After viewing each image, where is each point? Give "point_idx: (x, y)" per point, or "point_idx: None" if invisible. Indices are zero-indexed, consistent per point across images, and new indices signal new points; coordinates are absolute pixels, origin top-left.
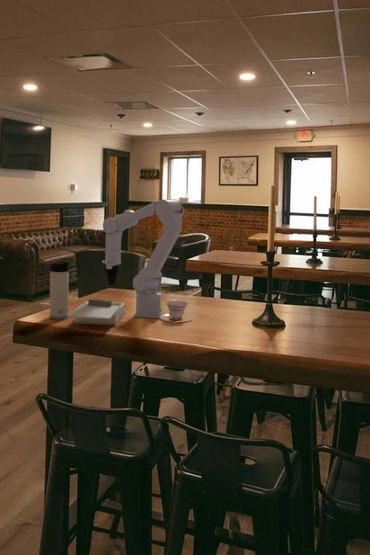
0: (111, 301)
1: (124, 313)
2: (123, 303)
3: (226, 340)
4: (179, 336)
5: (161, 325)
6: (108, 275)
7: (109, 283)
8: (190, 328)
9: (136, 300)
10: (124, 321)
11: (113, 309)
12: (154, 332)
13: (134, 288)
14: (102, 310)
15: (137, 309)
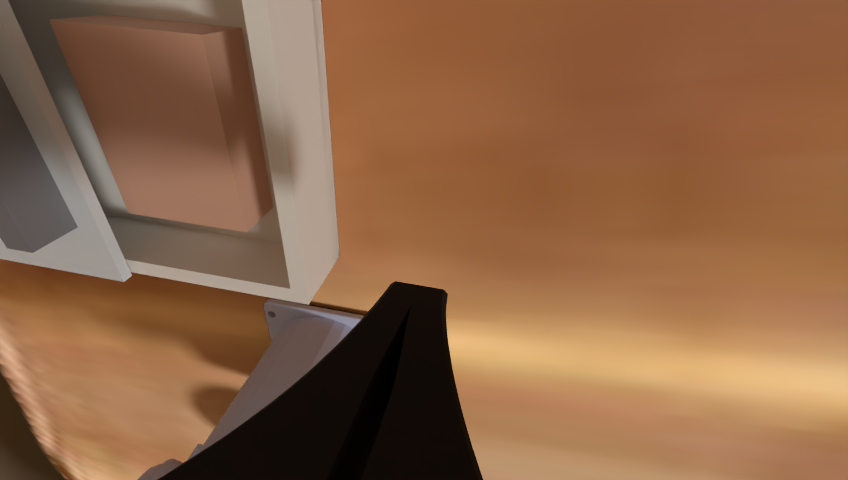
0: (30, 248)
1: (336, 256)
2: (292, 296)
3: (129, 476)
4: (85, 401)
5: (185, 380)
6: (283, 411)
7: (381, 300)
8: (198, 443)
9: (259, 388)
10: None
11: (2, 241)
12: (74, 347)
13: (158, 469)
14: None
15: (274, 345)
